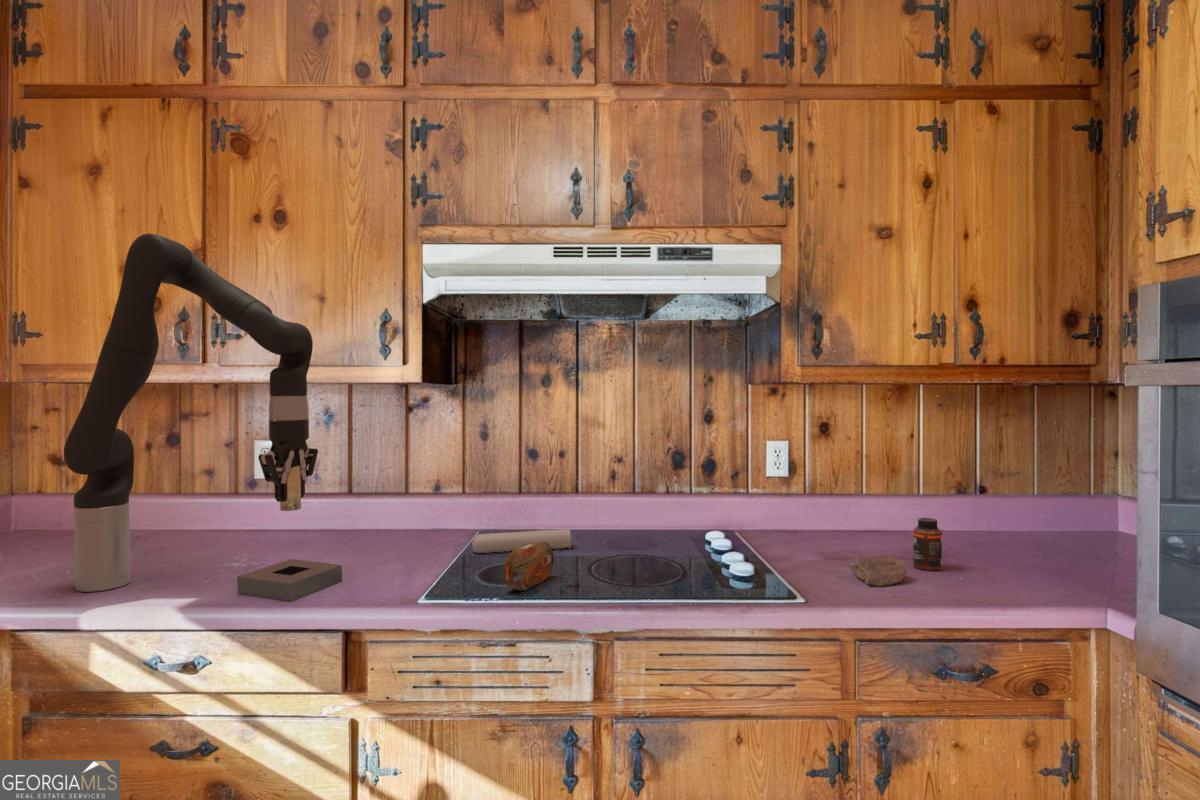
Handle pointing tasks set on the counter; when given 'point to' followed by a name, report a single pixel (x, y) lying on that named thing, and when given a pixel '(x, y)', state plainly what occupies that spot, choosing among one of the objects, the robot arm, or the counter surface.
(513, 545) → the tube
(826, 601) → the counter surface
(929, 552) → the supplement bottle
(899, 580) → the rock
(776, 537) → the counter surface
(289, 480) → the pipe stub
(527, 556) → the tin
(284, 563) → the block
